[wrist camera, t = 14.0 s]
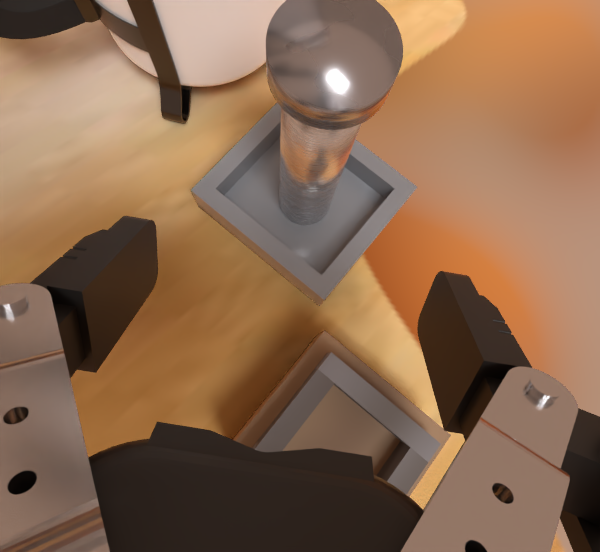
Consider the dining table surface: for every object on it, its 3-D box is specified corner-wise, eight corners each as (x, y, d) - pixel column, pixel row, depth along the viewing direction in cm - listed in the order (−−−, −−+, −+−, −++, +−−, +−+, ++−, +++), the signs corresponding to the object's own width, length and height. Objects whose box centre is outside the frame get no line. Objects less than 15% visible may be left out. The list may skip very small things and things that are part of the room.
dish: (198, 206, 25) (190, 190, 23) (288, 113, 27) (290, 89, 25) (319, 306, 25) (324, 300, 22) (404, 203, 26) (417, 187, 24)
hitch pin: (257, 204, 25) (236, 49, 12) (300, 156, 26) (324, -38, 13) (309, 246, 25) (345, 135, 12) (350, 197, 25) (429, 41, 12)
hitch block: (228, 444, 23) (213, 470, 17) (316, 335, 24) (328, 327, 19) (338, 542, 22) (358, 600, 16) (421, 423, 23) (465, 441, 18)
